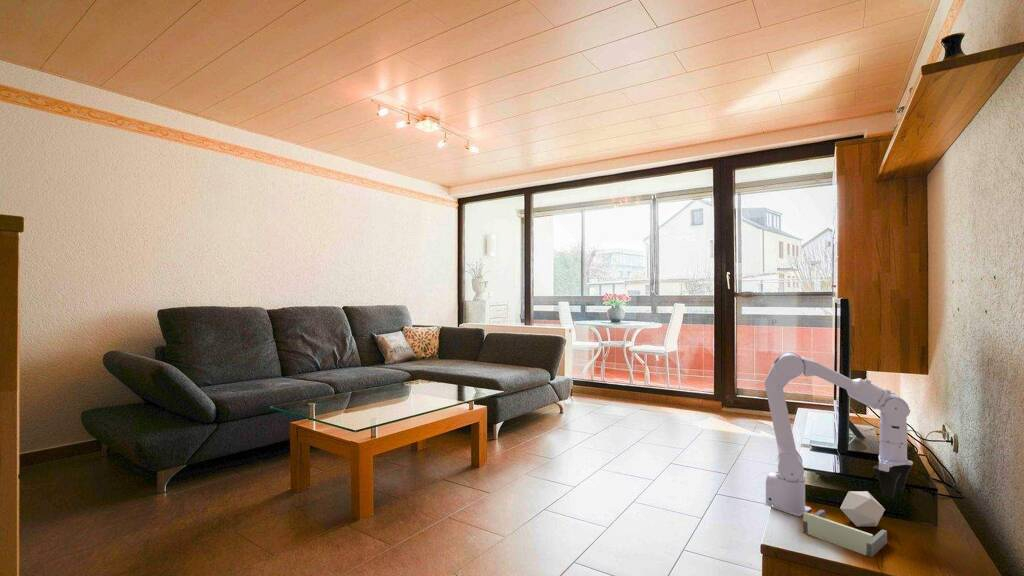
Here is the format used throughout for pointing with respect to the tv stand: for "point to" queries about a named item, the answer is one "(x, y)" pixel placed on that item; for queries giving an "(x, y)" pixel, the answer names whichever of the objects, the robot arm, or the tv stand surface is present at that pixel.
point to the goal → (843, 534)
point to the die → (862, 508)
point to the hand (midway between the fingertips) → (893, 493)
